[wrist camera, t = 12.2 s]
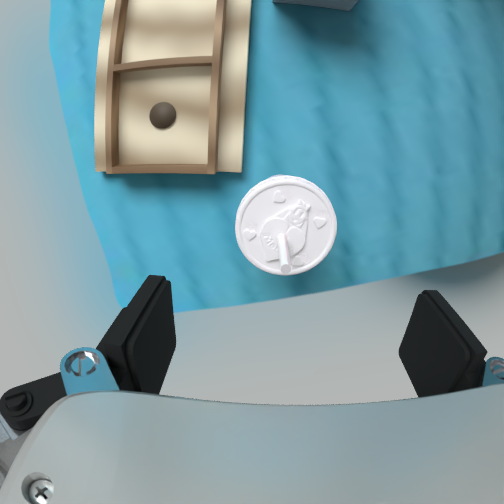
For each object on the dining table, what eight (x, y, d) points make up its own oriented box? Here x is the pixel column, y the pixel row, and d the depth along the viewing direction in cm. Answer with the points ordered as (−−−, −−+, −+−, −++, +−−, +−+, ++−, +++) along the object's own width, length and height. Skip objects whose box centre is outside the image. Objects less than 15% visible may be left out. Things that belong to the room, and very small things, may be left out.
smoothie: (231, 206, 28) (203, 279, 15) (267, 146, 26) (269, 167, 13) (290, 240, 29) (308, 332, 17) (328, 183, 27) (381, 239, 14)
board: (126, -66, 16) (107, -85, 11) (257, -81, 16) (256, -108, 11) (101, 169, 27) (73, 180, 22) (242, 170, 27) (236, 180, 22)
